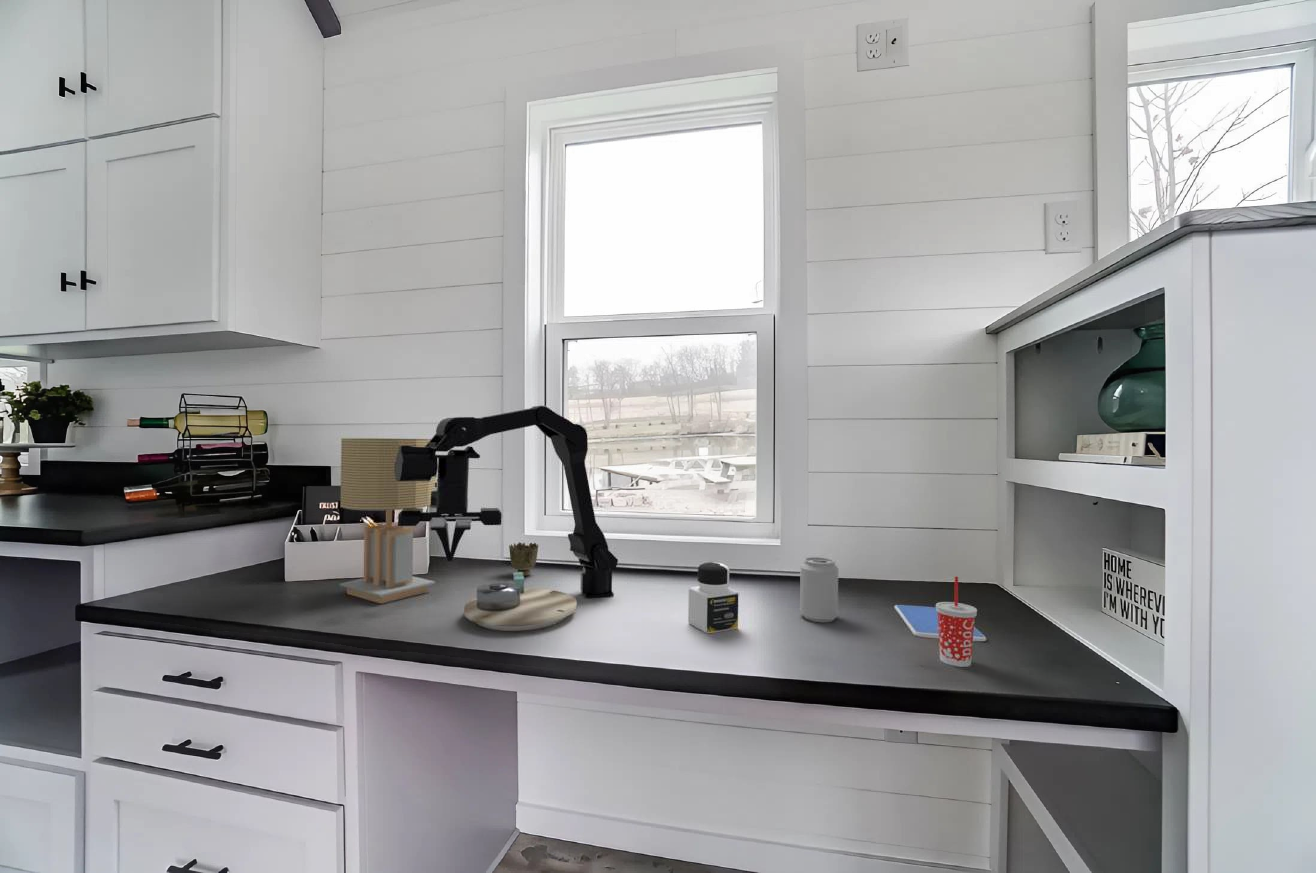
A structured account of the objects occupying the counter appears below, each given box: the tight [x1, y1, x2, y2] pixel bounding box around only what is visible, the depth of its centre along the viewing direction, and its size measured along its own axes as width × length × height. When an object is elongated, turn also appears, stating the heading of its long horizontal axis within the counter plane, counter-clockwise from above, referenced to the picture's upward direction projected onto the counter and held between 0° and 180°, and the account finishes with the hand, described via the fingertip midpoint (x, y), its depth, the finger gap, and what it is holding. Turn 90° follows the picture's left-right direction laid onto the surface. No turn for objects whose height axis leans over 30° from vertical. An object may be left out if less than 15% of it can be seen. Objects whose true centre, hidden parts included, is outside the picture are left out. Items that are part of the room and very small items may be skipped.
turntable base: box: [476, 618, 565, 632], centre depth 115 cm, size 18×18×1 cm
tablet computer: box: [894, 604, 987, 642], centre depth 114 cm, size 19×13×1 cm, turn 168°
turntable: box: [463, 572, 578, 626], centre depth 115 cm, size 22×22×4 cm
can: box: [799, 556, 839, 623], centre depth 116 cm, size 8×8×12 cm
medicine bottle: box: [687, 561, 739, 635], centre depth 110 cm, size 7×7×12 cm
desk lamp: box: [339, 437, 436, 604], centre depth 130 cm, size 20×20×35 cm
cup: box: [508, 541, 539, 577], centre depth 148 cm, size 8×7×8 cm
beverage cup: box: [935, 576, 978, 668], centre depth 94 cm, size 6×6×14 cm
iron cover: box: [476, 581, 520, 611], centre depth 114 cm, size 8×8×4 cm
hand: (449, 560), depth 112 cm, fingers closed
